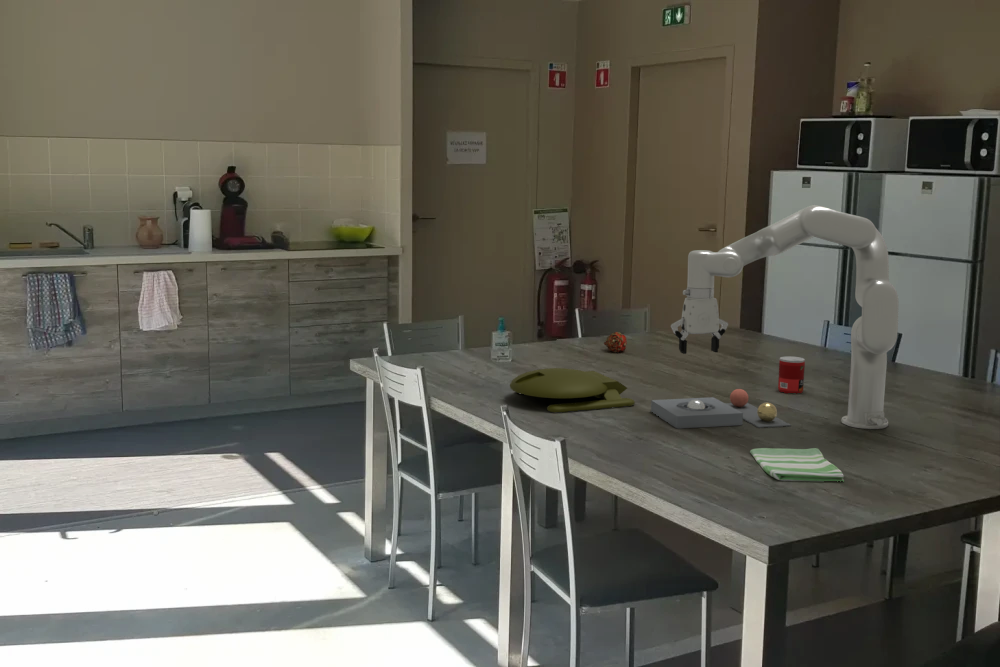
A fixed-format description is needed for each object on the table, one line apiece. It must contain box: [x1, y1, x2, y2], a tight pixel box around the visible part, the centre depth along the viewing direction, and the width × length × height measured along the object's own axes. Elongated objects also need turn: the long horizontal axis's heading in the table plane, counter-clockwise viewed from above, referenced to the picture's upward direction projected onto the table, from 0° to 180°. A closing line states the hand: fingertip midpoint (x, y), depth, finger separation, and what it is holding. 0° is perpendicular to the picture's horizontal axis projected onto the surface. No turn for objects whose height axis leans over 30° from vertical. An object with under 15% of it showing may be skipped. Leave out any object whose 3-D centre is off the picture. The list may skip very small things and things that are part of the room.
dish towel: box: [749, 447, 845, 483], centre depth 250 cm, size 18×23×3 cm
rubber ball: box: [729, 388, 749, 407], centre depth 309 cm, size 6×6×6 cm
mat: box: [724, 402, 792, 429], centre depth 301 cm, size 28×10×1 cm, turn 13°
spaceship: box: [509, 367, 636, 413], centre depth 319 cm, size 35×31×10 cm
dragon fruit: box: [603, 331, 628, 353], centre depth 401 cm, size 8×8×12 cm
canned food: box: [777, 356, 806, 395], centre depth 332 cm, size 8×8×11 cm
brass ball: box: [757, 402, 778, 422], centre depth 292 cm, size 6×6×6 cm
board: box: [650, 396, 743, 429], centre depth 297 cm, size 20×20×4 cm
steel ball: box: [687, 400, 706, 409], centre depth 297 cm, size 6×6×6 cm
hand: (698, 352), depth 294 cm, fingers open, 9 cm apart
